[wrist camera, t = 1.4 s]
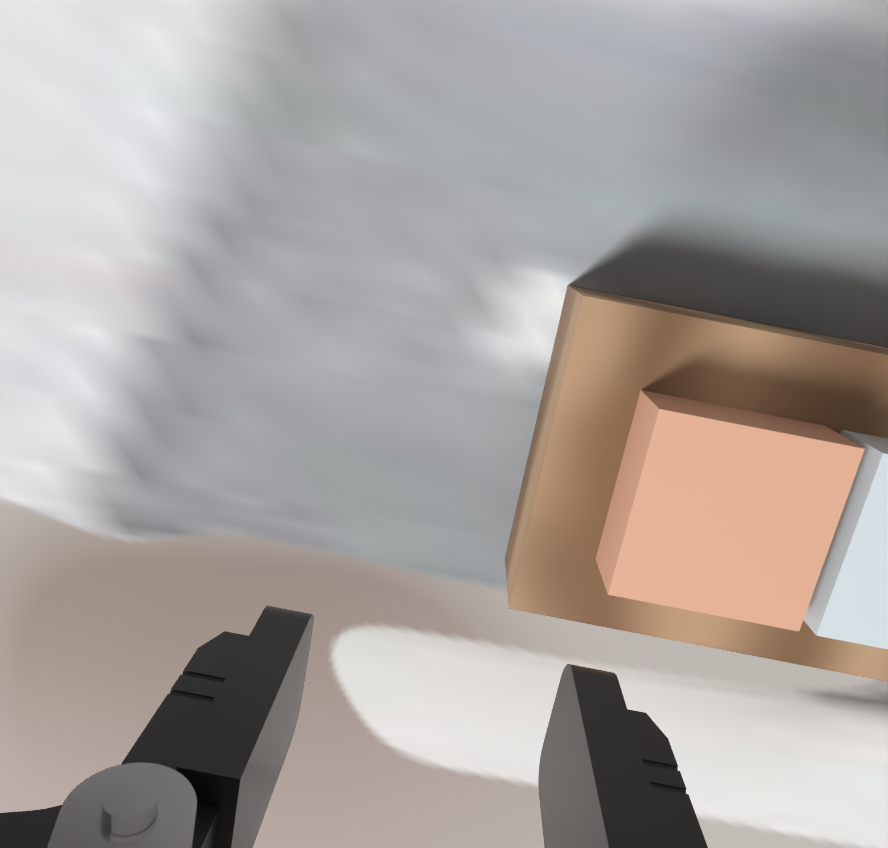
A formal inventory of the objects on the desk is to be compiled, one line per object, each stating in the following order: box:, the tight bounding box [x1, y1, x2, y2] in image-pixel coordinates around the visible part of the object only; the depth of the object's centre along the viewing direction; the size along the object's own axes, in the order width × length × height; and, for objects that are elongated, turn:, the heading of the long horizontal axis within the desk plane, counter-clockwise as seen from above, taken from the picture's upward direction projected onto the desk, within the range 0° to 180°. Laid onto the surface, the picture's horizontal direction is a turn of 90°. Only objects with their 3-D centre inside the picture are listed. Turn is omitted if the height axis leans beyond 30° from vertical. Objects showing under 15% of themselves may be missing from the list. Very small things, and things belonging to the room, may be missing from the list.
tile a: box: [596, 390, 865, 631], centre depth 23 cm, size 6×6×2 cm
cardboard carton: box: [505, 285, 888, 682], centre depth 26 cm, size 18×11×4 cm, turn 79°
